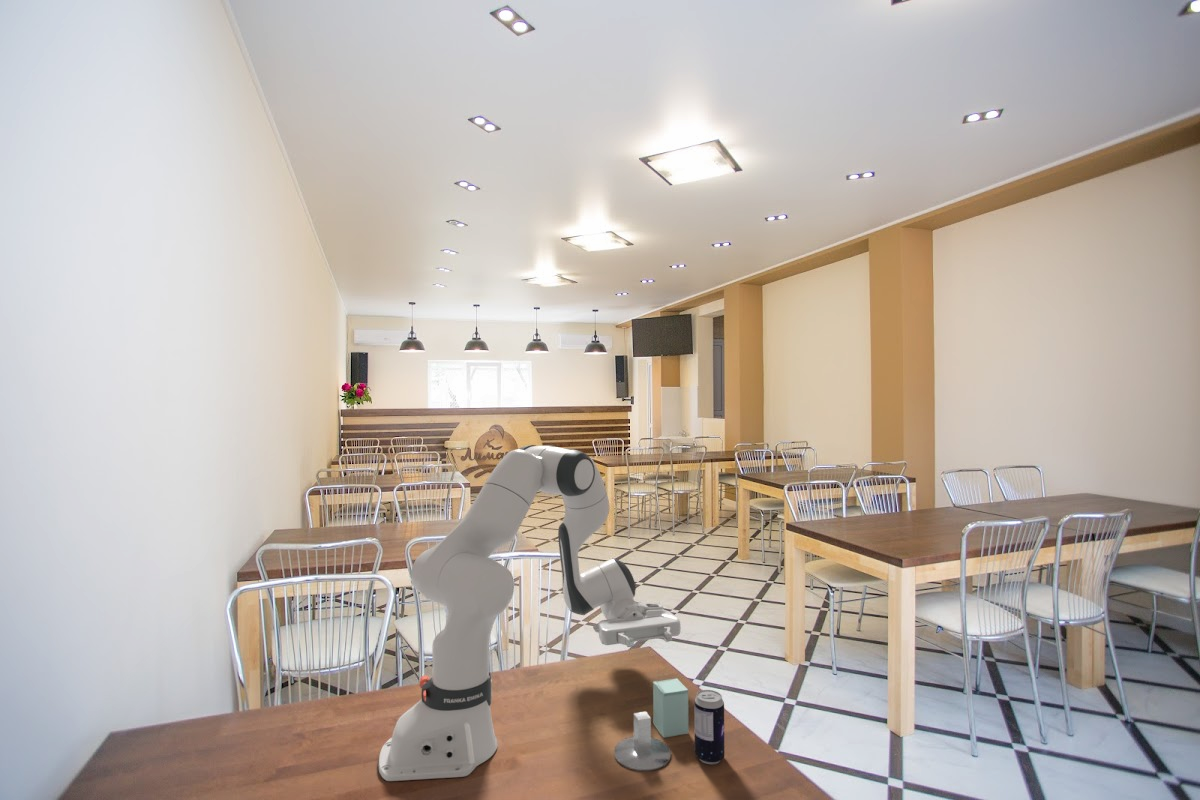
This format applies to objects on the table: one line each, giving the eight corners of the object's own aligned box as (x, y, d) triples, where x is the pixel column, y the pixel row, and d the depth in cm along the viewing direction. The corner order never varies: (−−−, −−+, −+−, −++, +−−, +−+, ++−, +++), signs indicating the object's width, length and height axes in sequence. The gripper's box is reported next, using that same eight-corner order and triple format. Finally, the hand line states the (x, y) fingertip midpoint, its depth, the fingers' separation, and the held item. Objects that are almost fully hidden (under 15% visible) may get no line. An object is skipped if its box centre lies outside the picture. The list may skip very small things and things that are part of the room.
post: (624, 775, 110) (624, 734, 110) (607, 743, 120) (607, 706, 120) (679, 765, 113) (679, 725, 113) (657, 734, 123) (657, 698, 123)
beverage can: (727, 767, 112) (726, 703, 112) (697, 766, 112) (696, 702, 112) (721, 749, 118) (721, 688, 118) (692, 749, 118) (692, 688, 118)
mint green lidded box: (663, 737, 122) (663, 693, 122) (653, 724, 128) (653, 681, 128) (688, 733, 124) (688, 689, 124) (677, 720, 129) (677, 678, 129)
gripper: (590, 612, 148) (607, 632, 135) (666, 603, 154) (689, 622, 141) (591, 638, 148) (607, 660, 135) (667, 627, 154) (690, 648, 141)
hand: (650, 640), depth 138 cm, fingers open, 8 cm apart
